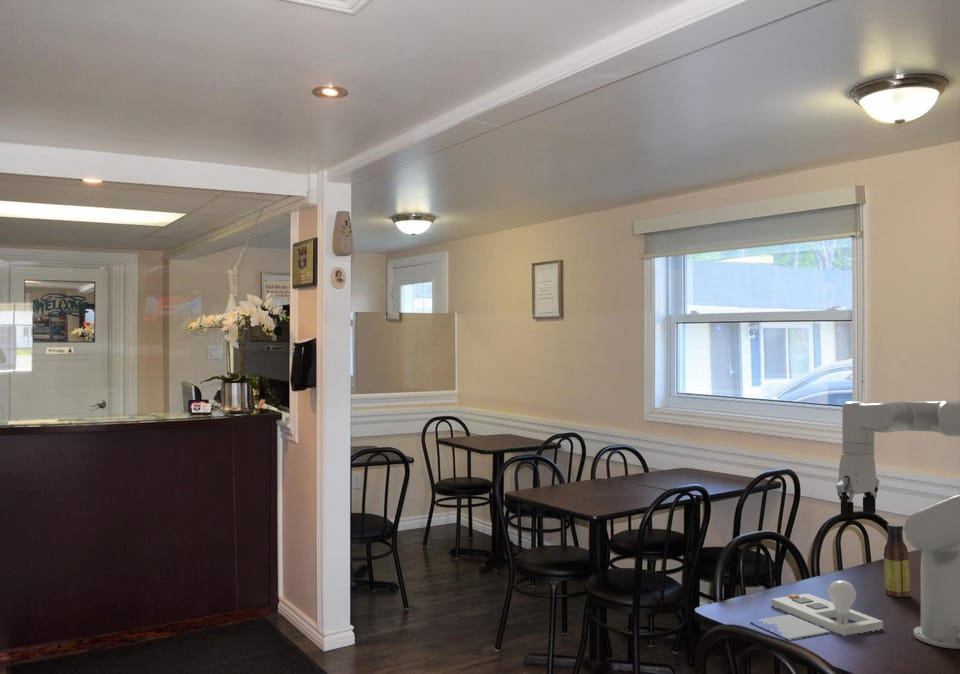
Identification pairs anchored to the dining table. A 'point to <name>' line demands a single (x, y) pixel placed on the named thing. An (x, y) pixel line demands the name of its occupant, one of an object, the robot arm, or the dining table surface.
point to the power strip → (825, 614)
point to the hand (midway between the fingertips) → (858, 514)
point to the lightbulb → (842, 599)
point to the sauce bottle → (896, 563)
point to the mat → (794, 626)
